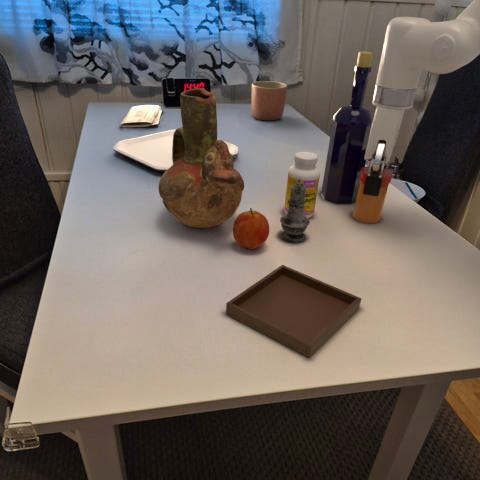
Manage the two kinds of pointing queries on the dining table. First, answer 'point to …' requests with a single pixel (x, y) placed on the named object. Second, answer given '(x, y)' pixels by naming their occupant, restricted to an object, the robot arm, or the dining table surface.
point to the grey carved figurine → (295, 215)
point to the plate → (154, 149)
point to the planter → (268, 99)
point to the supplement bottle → (304, 180)
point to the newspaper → (142, 116)
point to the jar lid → (386, 175)
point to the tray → (294, 309)
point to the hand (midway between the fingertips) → (372, 188)
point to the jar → (369, 205)
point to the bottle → (349, 140)
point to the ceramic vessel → (200, 167)
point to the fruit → (250, 229)
